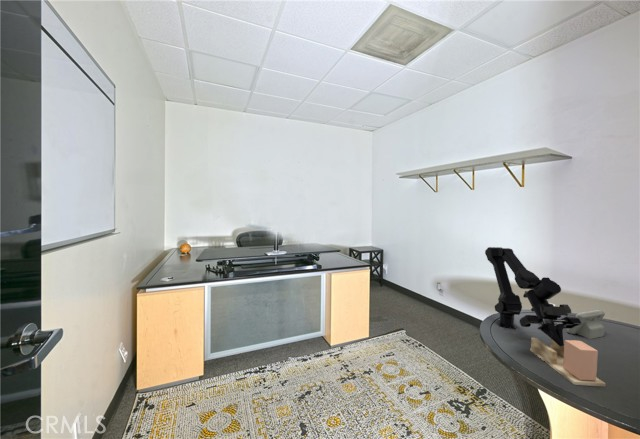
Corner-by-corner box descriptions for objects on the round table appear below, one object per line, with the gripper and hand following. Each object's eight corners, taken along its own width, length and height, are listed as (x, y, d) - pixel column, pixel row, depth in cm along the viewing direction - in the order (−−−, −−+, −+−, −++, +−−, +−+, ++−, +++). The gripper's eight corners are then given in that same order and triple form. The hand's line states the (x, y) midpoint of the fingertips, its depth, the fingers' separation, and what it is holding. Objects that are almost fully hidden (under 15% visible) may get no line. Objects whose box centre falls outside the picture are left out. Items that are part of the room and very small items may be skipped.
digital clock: (591, 328, 118) (592, 306, 117) (614, 338, 109) (616, 314, 108) (559, 329, 117) (560, 307, 116) (580, 339, 108) (581, 315, 107)
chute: (530, 350, 99) (530, 337, 99) (555, 351, 99) (555, 338, 98) (574, 384, 81) (575, 368, 80) (605, 386, 80) (606, 369, 79)
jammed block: (563, 367, 87) (564, 340, 86) (578, 368, 87) (580, 340, 86) (579, 379, 81) (581, 349, 80) (596, 380, 81) (597, 350, 80)
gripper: (526, 294, 95) (548, 338, 85) (579, 296, 94) (608, 340, 83) (511, 306, 104) (529, 346, 94) (559, 307, 102) (583, 349, 92)
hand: (561, 345), depth 90 cm, fingers closed
